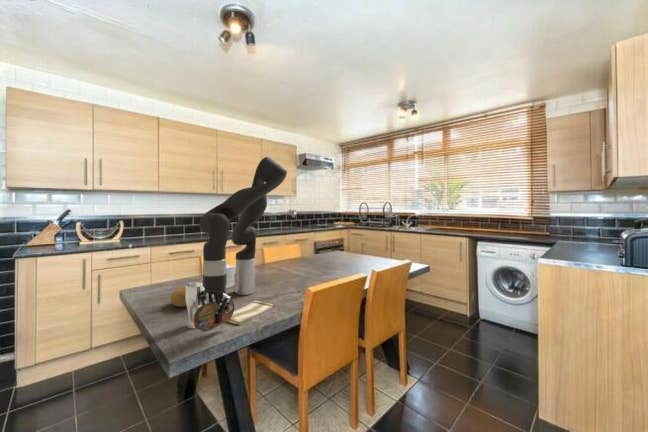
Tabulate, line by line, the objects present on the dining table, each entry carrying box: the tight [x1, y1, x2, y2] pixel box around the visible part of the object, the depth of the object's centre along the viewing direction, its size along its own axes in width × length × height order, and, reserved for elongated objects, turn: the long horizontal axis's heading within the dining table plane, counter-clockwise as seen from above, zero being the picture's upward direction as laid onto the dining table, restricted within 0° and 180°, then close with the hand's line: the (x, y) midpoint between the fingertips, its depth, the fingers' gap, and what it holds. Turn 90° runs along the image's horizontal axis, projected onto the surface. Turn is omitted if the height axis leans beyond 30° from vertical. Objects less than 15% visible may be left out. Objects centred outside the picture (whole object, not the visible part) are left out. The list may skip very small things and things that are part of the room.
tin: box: [193, 299, 235, 333], centre depth 93 cm, size 15×3×8 cm, turn 151°
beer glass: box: [185, 281, 206, 329], centre depth 100 cm, size 7×7×15 cm
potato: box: [170, 285, 187, 308], centre depth 120 cm, size 10×14×8 cm
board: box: [226, 299, 273, 326], centre depth 112 cm, size 10×20×1 cm, turn 154°
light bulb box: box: [225, 264, 236, 289], centre depth 150 cm, size 11×7×11 cm, turn 67°
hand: (215, 322), depth 93 cm, fingers closed on tin, 2 cm apart
